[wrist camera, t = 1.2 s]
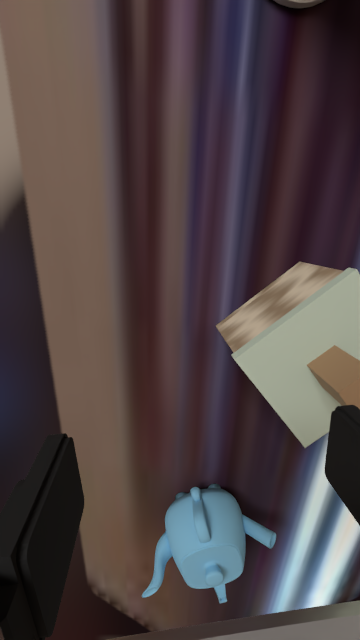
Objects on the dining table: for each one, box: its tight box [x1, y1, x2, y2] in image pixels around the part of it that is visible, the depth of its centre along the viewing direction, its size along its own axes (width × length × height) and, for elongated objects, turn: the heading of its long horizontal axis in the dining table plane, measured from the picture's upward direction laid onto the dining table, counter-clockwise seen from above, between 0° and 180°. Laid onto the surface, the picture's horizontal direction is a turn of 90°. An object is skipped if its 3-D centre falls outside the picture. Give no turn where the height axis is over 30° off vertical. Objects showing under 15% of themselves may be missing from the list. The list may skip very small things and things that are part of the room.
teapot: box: [142, 484, 276, 603], centre depth 45 cm, size 15×14×11 cm
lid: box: [231, 268, 360, 448], centre depth 30 cm, size 15×15×8 cm
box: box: [216, 262, 343, 353], centre depth 37 cm, size 14×14×10 cm
